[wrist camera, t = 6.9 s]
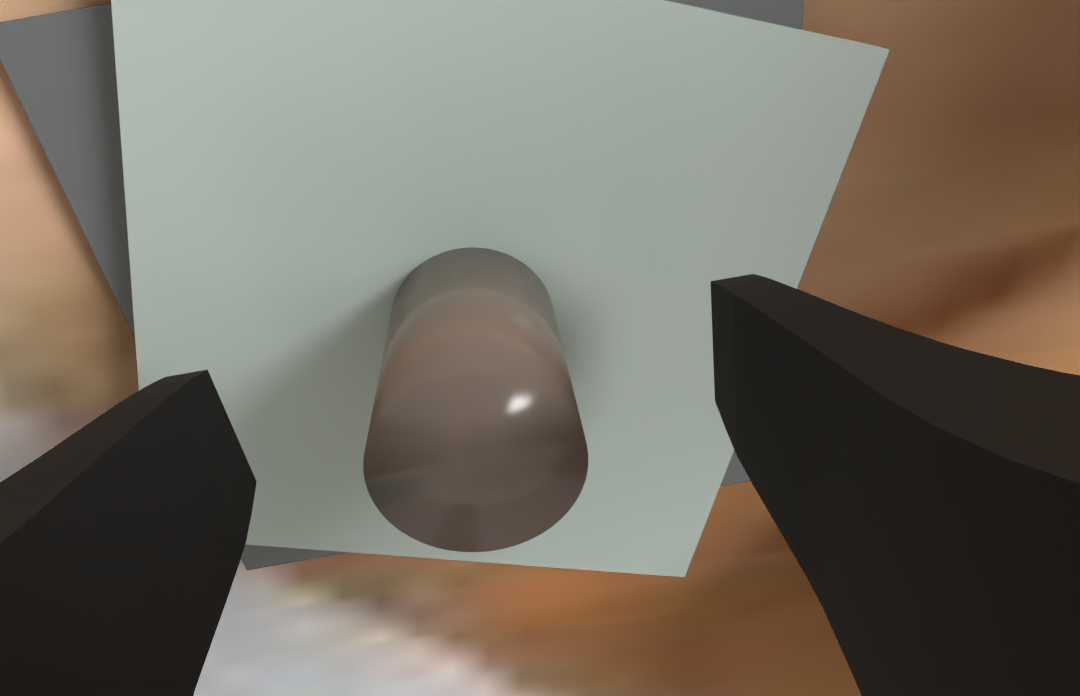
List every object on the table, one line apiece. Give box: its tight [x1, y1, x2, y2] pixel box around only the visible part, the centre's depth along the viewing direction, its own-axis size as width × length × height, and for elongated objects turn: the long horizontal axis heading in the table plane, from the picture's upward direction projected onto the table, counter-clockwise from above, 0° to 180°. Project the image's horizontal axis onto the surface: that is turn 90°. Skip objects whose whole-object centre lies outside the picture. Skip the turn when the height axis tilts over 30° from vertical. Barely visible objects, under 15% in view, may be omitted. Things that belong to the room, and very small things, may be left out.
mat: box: [0, 0, 803, 570], centre depth 13 cm, size 12×11×1 cm
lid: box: [111, 0, 890, 577], centre depth 11 cm, size 11×11×5 cm
